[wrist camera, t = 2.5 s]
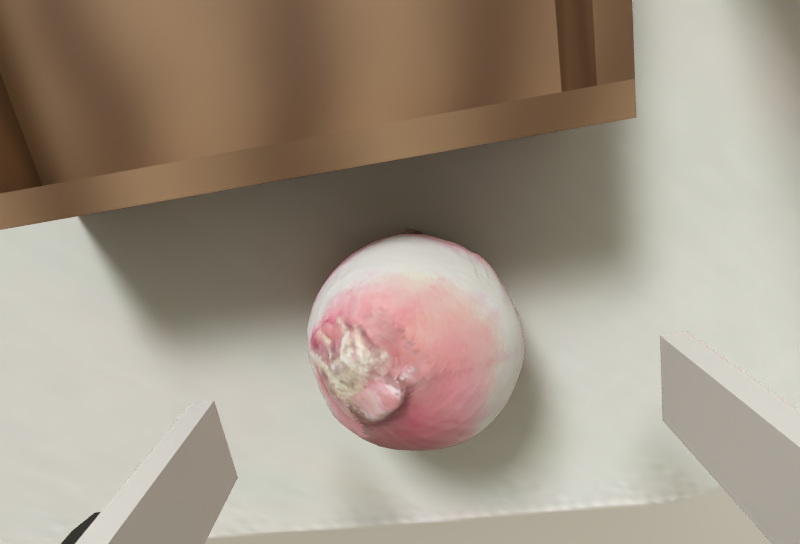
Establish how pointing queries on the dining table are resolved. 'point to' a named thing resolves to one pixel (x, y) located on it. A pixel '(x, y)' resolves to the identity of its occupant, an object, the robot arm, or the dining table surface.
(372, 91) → the wooden tray
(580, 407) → the dining table surface
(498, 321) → the onion
